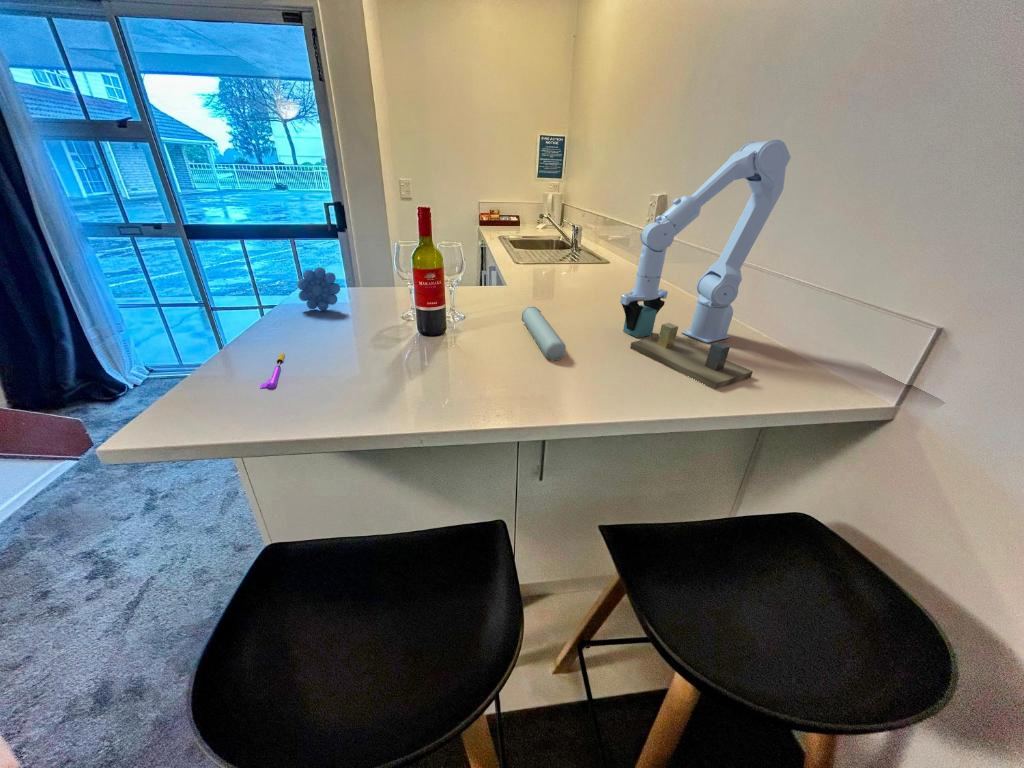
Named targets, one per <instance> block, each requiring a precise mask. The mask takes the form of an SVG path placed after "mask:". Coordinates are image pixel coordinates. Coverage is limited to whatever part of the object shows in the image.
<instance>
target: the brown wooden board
mask: <svg viewBox="0 0 1024 768" xmlns="http://www.w3.org/2000/svg"><path fill="white" fill-rule="evenodd" d="M658 339H659V335H657V336H654V337H649V338H644V339H640V340H636V341H631V343H630V347H629V348H630V349H632V350H633V351H635V352H637V353H639V354H642V355H644V356H646V357H647V358H650V359H652V360H653V361H655V362H657V363H660V364H662V365H663V366H666V367H668V368H669V369H672V370H673V371H676V372H677V373H680V374H682V375H684V376H686V377H688V376H689V377H688V378H691V379H692V378H693V379H692V380H694V379H695V380H694V381H696V380H697V381H696V382H698V381H699V383H700V382H701V383H700V384H702V383H703V385H704V384H705V385H704V386H706V385H707V386H706V387H708V388H710V389H712V390H714V391H715V390H720V389H722V388H724V387H728V386H730V385H734V384H737V383H740V382H742V381H745V380H748V379H751V378H752V376H753V373H754V371H753V370H752V369H751V370H750V369H749V368H746V367H744V366H741V365H739V364H737V363H734V362H732V361H729V360H728V359H726V362H725V365H724V368H723V369H720V370H717V371H714V370H712V369H710V368H708V367H706V366H705V363H706V360H707V357H708V353H709V351H706V350H704V349H702V348H699V347H696V346H694V345H691V344H689V343H687V342H685V341H683V340H679V339H677V338H675V342H674V346H673V347H670V348H664V347H661V346H659V345H657V343H658Z"/></svg>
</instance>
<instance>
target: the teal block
mask: <svg viewBox="0 0 1024 768" xmlns="http://www.w3.org/2000/svg"><path fill="white" fill-rule="evenodd" d="M639 305H640V306H643V307H644V308H643V309H642V311H641V313H640V315H639V317H638V320H637V324H636V327H635V330H634V331H631V330H629V329H627V325H626V316H624V317H625V318H624V323H623V330H622V332H624V333H626V334H628V335H631V336H633V337H635V338H636V339H639V338H643V337H648V336H652V334H653V330H654V327H655V322H656V317H657V315H656V313H657V310H655V309H652V308H650V307H647V306H644V304H639ZM657 314H658V313H657Z"/></svg>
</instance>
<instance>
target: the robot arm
mask: <svg viewBox="0 0 1024 768" xmlns="http://www.w3.org/2000/svg"><path fill="white" fill-rule="evenodd" d="M790 161H791V155H790V153H789V149H788V147H787V145H786V143H785V142H784V141H783V140H782V139H778V138H777V139H771V140H765V141H751V142H748V143H746V144H744V145H743V146H741V148H740V149H739V150H738V151H735V152H734V153H732V155H731V156H730V157H728V159H727V160H726V161H725V163H723V164H722V165H721V167H719V168H718V169H717V170H716V171H715V172H714V173H713V174H712V175H711V176H710V177H709V178H708V179H707V180H706V181H705V182H704V183H703V184H702V185H701V186H699V188H698V189H696V191H695V192H694V193H693V194H691V195H682V196H681V197H680V198H678V197H677V198H675V199H674V200H673V201H672V204H673V205H671V206H670V207H669V208H668V209H667V210H666V211H664V212H663V213H662V214H661V215H657V216H656V217H655V221H654V222H650V223H648V224H647V225H645V227H644V228H643V229H642V232H640V233H639V234H640V235H639V237H640V238H639V239H640V241H641V245H642V247H641V251H640V256H639V259H638V266H637V270H636V276H635V282H634V288H632V289H631V290H630V292H628V293H625V294H621V295H620V300H619V303H620V304H621V306H622V308H623V312H624V317H626V325H627V329H629V330H631V331H634V330H635V327H636V324H637V320H638V317H639V315H640V313H641V311H642V309H643V308H644V307H643V306H640V305H641V304H640V302H643V305H644V306H647V307H650V308H652V309H655V310H657V313H656V316H657V315H658V313H659V311H660V310H661V309H662V308H663V307H664V305H665V303H666V302H665V301H664V299H665V300H666V299H667V297H668V294H669V293H668V292H669V291H668V290H666V289H662V288H661V289H660V287H659V286H660V283H661V279H662V274H663V268H664V264H665V259H666V253H667V248H669V247H671V246H672V245H673V242H674V240H675V237H676V236H677V235H678V234H680V233H681V232H683V230H684V229H685V228H686V227H687V226H688V225H691V223H692V222H693V221H695V220H696V219H697V218H698V217H699V216H700V214H701V210H702V207H703V206H704V205H705V204H707V203H708V202H709V201H711V200H712V198H714V197H715V196H717V195H718V194H719V193H720V192H721V191H723V190H724V189H725V188H727V186H729V185H730V184H732V183H733V182H734V181H738V180H741V179H745V180H746V182H747V184H748V186H749V188H750V190H751V195H750V197H749V199H748V200H747V203H746V205H745V207H744V208H743V211H742V213H741V214H740V217H739V218H738V220H737V222H736V224H735V227H734V228H733V231H732V232H731V234H730V236H729V238H728V240H727V242H726V244H725V246H724V247H723V249H722V252H721V254H720V255H719V258H718V260H716V261H715V262H714V263H713V264H711V265H710V266H709V267H708V269H707V270H706V272H705V273H704V274H703V275H702V276H701V277H700V278H699V279H698V281H697V284H696V291H697V293H698V294H699V295H698V299H697V302H696V305H695V310H694V313H693V317H692V320H691V324H690V327H689V329H686V330H682V331H681V334H683V335H686V336H687V337H691V338H693V339H696V340H698V341H701V342H703V343H706V344H709V343H713V342H717V341H718V342H719V341H720V340H725V339H729V338H730V335H729V334H728V332H729V328H730V325H731V323H732V319H733V316H734V308H733V306H732V305H731V304H732V303H733V302H734V301H735V300H736V298H737V297H738V295H739V288H740V287H739V286H740V284H741V282H742V280H743V277H742V272H741V269H742V267H743V264H744V262H745V261H746V259H747V257H748V255H749V253H750V251H751V250H752V248H753V246H754V244H755V243H756V241H757V238H758V237H759V235H760V233H761V231H762V230H763V228H764V226H765V224H766V222H767V220H768V219H769V217H770V215H771V213H772V212H773V209H774V208H775V206H776V204H777V202H778V200H779V198H780V196H781V195H782V192H783V191H784V186H785V178H786V177H785V176H786V171H787V166H788V164H789V162H790ZM662 299H663V300H662Z"/></svg>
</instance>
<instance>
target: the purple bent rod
mask: <svg viewBox="0 0 1024 768" xmlns="http://www.w3.org/2000/svg"><path fill="white" fill-rule="evenodd" d="M285 356H286V355H285V352H281V353H279V355H278V358H277V359H276V363H278V365H276V366H275V367H274V370H273V372H272V375H271V378H269V379H268V380H267V381H266V382H263V383H261V384H260V387H259V389H261V390H262V389H270V390H271V389H272V390H274V389H275V388H276V387H277V383H278V380H279V379H278V378H279V376H280V372H281V362H284V360H285Z"/></svg>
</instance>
